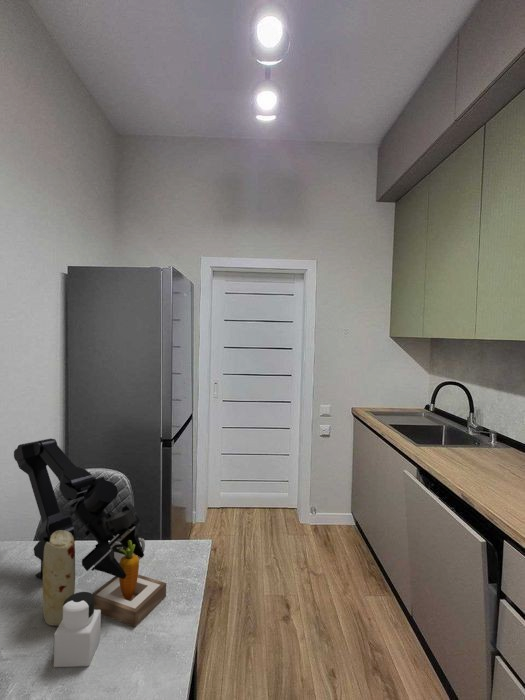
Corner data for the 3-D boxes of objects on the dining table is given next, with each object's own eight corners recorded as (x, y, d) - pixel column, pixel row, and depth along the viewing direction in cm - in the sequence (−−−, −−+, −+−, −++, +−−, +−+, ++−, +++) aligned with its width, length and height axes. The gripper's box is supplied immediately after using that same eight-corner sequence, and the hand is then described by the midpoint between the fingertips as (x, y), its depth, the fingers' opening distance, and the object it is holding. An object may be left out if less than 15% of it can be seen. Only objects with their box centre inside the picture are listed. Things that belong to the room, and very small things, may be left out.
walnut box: (89, 609, 96) (89, 596, 96) (123, 582, 108) (123, 569, 108) (135, 627, 91) (135, 612, 91) (165, 596, 103) (166, 583, 102)
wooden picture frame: (95, 606, 97) (95, 595, 97) (123, 583, 106) (123, 573, 106) (134, 621, 93) (135, 608, 93) (160, 596, 102) (160, 584, 102)
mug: (108, 565, 115) (108, 543, 115) (111, 553, 122) (112, 532, 121) (143, 562, 117) (144, 540, 117) (145, 550, 124) (145, 529, 124)
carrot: (131, 609, 97) (133, 549, 96) (113, 605, 98) (115, 546, 97) (142, 596, 101) (143, 539, 101) (124, 593, 103) (126, 536, 102)
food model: (79, 622, 92) (81, 538, 92) (48, 636, 88) (50, 548, 87) (68, 600, 99) (69, 522, 99) (38, 612, 95) (39, 530, 94)
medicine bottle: (67, 641, 87) (68, 587, 86) (100, 640, 87) (101, 587, 87) (52, 668, 79) (53, 610, 79) (89, 667, 80) (90, 609, 80)
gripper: (94, 515, 90) (138, 568, 89) (134, 485, 109) (171, 529, 107) (63, 544, 92) (105, 597, 90) (107, 510, 110) (143, 554, 109)
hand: (134, 566), depth 99 cm, fingers open, 9 cm apart
